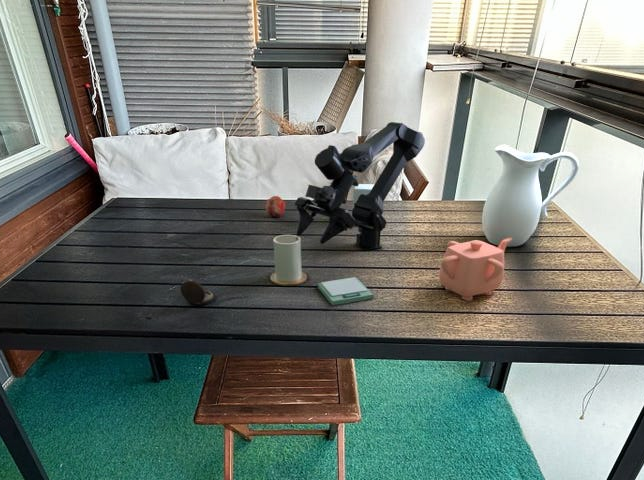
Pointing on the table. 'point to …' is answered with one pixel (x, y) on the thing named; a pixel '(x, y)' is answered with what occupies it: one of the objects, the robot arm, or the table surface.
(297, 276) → the cup
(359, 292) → the scale
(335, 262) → the table surface
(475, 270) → the teapot
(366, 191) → the white packaging box
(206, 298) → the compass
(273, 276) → the coaster
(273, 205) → the pomegranate
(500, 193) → the pitcher
